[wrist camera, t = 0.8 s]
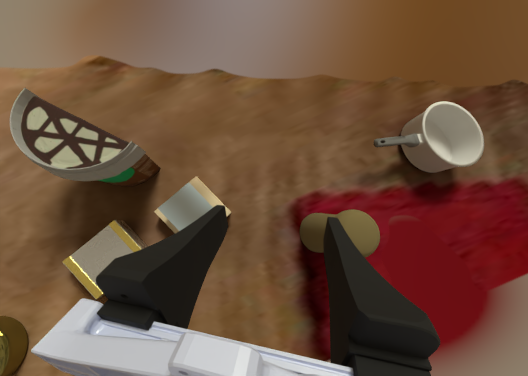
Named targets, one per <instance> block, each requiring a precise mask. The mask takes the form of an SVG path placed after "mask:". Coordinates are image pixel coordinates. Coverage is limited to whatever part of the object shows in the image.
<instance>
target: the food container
mask: <svg viewBox="0 0 528 376" xmlns="http://www.w3.org/2000/svg"><path fill="white" fill-rule="evenodd" d="M10 129H11V133H12V137H13V138H14V140H15V142H16V144H17V146H18V147H19V148H20V149H21V151H22V152H23V153H24V154H25V155H26V156H27V157H28V158H29V159H30V160H32V161H33V162H34V163H36V164H37V165H39V166H40V167H42V168H44V169H45V170H47V171H49V172H50V173H52V174H54V175H56V176H59V177H62V178H65V179H69V180H75V181H95V180H99V181H103V182H106V183H110V184H114V185H119V186H134V185H138V184H141V183H143V182H145V181H147V180H149V179H150V178H152V177H153V176H154V175H155V174H156V173H157V172H158V171H159V169H160V167H159V166H158V165H156V164H155V163H154V162H153V161H152V160H151V159H150V158H149V157H148V156H147V155H146V154H145V153H146V152H145V151H144V150H143V149H141V148H140V147H139V146H138V145H136V144H134V143H133V142H132V141H131V142H130V143H128V142H127V141H124V140H122V139H120V138H118V137H116V136H114V135H112V134H110V133H108V132H106V131H104V130H102V129H100V128H98V127H96V126H94V125H92V124H90V123H88V122H86V121H85V120H83V119H81V118H78V117H76V116H74V115H72V114H70V113H68V112H66V111H64V110H62V109H60V108H58V107H56V106H54V105H52V104H50V103H48V102H46V101H44V100H43V99H41V98H40V97H38V96H37V95H35V94H34V93H32V92H31V91H29V90H28V89H26V88H24V89H23V90H22V92H21V93H20V94H19V95H18V97H17V99H16V100H15V102H14V104H13V107H12V110H11V115H10Z"/></svg>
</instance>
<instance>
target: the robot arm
mask: <svg viewBox="0 0 528 376" xmlns="http://www.w3.org/2000/svg"><path fill="white" fill-rule="evenodd" d="M227 229H228V222H227V216H226V209H225V206H224V205H216V206H215V207H213V208H212V209H211V210H209V211H208V212H207V213H205V214H204V215H202V216H201V217H200V218H198V219H197V220H196V221H194V222H193V223H191V224H190V225H188V226H187V227H185V228H184V229H182V230H180V231H179V232H177V233H175V234H173V235H172V236H170V237H168V238H166V239H164V240H162V241H160V242H158V243H155V244H153V245H151V246H149V247H146V248H144V249H141V250H139V251H136V252H133V253H130V254H127V255H124V256H121V257H118V258H115V259H114V260H113V261H112V262H111V263H110V264H109V265H108V266H107V267H106V268H105V269H104V270H103V271H102V272H101V273H100V274H99V275H98V276H97V277H96V284H97V285H98V287H99V288H100V289H101V291H102V292H103V293H104V294H105V296H106V297H107V298H108V300H107V302H106V303H105V304H102V303H100V302H98V301H93V300H89V299H85V298H83V299H81V300H80V301H79V302H78V303H77V304H76V305H75V306H74V307H73V308H72V309H71V310H70V311H69V312H68V313H67V314H66V315H65V316H64V317H63V318H62V319H61V320H60V321H59V322H58V323H57V324H56V325H55V326H54V327H53V328H52V329H51V330H50V331H49V332H48V333H47V334H46V335H45V336H44V337H43V338H42V339H41V340H40V342H39V343H38V344H37V345H36V346H35V347H34V348H33V349H32V350H31V352H32V353H33V354H35V355H37V356H38V357H40V358H41V359H43V360H45V361H46V362H48V363H49V364H51V365H52V366H54V367H56V368H57V369H59V370H60V371H63V372H66V373H69V374H72V375H75V376H431V374H430V372H429V371H431V370H432V369H431V368H432V367H431V365H430V362H429V360H428V357H429V356H430V355H431V354H433V353H434V352H435V351H436V350H437V348H438V347H439V345H440V339H439V337H438V335H437V332H436V330H435V328H434V326H433V324H432V323H431V321H430V319H429V318H428V316H427V314H426V313H424V312H423V311H422V310H421V309H420V308H418V307H417V306H416V305H414V304H413V303H412V302H410V301H409V300H408V299H407V298H405V297H404V296H403V295H402V294H401V293H399V292H398V291H397V290H396V289H395V288H393V287H392V286H391V285H390V284H389V283H388V282H387V281H386V280H385V279H384V278H383V277H382V276H381V275H380V274H379V273H378V272H377V271H376V270H375V269H374V268H373V267H372V266H371V265H370V264H369V262H368V261H367V260H366V259H365V258H364V256H363V255H362V254H361V253H360V251H359V250H358V249H357V247H356V246H355V245H354V243H353V242H352V240H351V239H350V237H349V236H348V234H347V233H346V231H345V230H344V228H343V226H342V224H341V223H340V221H339V219H338V218H334V217H328V218H327V223H326V228H325V233H324V238H323V249H324V259H325V267H326V274H327V281H328V289H329V307H330V344H331V363H329V362H325V361H320V360H316V359H312V358H308V357H303V356H299V355H295V354H291V353H286V352H282V351H278V350H274V349H269V348H265V347H261V346H257V345H252V344H248V343H244V342H240V341H235V340H231V339H227V338H223V337H218V336H214V335H210V334H206V333H201V332H197V331H193V330H189V329H187V328H188V325H189V321H190V318H191V315H192V312H193V309H194V306H195V303H196V300H197V297H198V295H199V292H200V289H201V286H202V284H203V281H204V279H205V276H206V274H207V271H208V269H209V267H210V265H211V263H212V261H213V259H214V257H215V255H216V253H217V251H218V249H219V248H220V246H221V244H222V242H223V240H224V237H225V235H226V232H227Z"/></svg>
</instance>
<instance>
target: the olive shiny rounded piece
mask: <svg viewBox="0 0 528 376" xmlns="http://www.w3.org/2000/svg"><path fill="white" fill-rule="evenodd" d="M27 345H28V338H27V333H26V330H25V328H24V327H23V325H22V324H21V323H20V322H19V321H17V320H15V319H13V318H11V317H7V316H0V376H11V375H12V374H13V373H14V372H15V371H16V370H17V368H18V367H19V365H20V364H21V362H22V360H23V358H24V356H25V354H26V350H27Z"/></svg>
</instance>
